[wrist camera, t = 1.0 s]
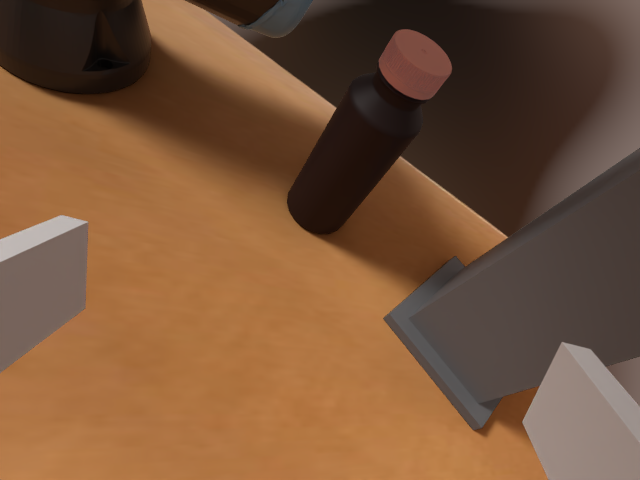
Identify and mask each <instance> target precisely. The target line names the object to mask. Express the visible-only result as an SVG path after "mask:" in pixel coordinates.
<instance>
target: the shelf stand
mask: <svg viewBox="0 0 640 480" xmlns="http://www.w3.org/2000/svg"><path fill="white" fill-rule="evenodd" d="M383 319H384V320H385V321H386V323H387V324H388V325H389V326H390V328H391V329H392V330H393V331H394V333H395V334H396V335H397V336H398V338H399V339H400V340H401V341H402V342H403V344H404V345H405V346H406V347H407V349H408V350H409V351H410V352H411V354H412V355H413V356H414V357H415V359H416V360H417V361H418V362H419V364H420V365H421V366H422V367H423V369H424V370H425V371H426V372H427V374H428V375H429V376H430V377H431V378H432V380H433V381H434V382H435V383H436V385H437V386H438V387H439V388H440V390H441V391H442V392H443V393H444V395H445V396H446V397H447V398H448V400H449V401H450V402H451V403H452V405H453V406H454V407H455V408H456V410H457V411H458V412H459V413H460V414H461V416H462V417H463V418H464V419H465V421H466V422H467V423H468V424H469V426H470V427H471V428H472V429H473V430H476V429H480V428H482V427H483V426H484V424H485V423H486V421H487V420H488V418H489V417H490V415H491V414H492V412H493V411H494V409H495V408H496V406H497V405H498V403H499V402H500V400H501V399H502V397H503V396H506V395H510V394H513V393H517V392H520V391H523V390H527V389H530V388H534V387H537V386H540V385H541V383H542V381H543V379H544V377H545V375H546V373H547V371H548V369H549V367H550V365H551V363H552V361H553V359H554V357H555V355H556V353H557V351H558V349H559V347H560V345H561V343H562V342H564V343H568V344H572V345H576V346H580V347H584V348H588V349H591V350H592V352H593V353H594V354H595V355H596V356H597V357H598V359H599V360H600V361H601V362H602V363H603V364H604V366H605V367H606V366H609V365H613V364H616V363H619V362H622V361H626V360H630V359H633V358H636V357H640V148H639V149H637V150H636V151H635V152H633V153H632V154H630V155H629V156H627V157H626V158H624V159H623V160H621V161H620V162H618V163H617V164H616V165H614V166H612V167H611V168H610V169H608V170H607V171H605V172H604V173H602V174H601V175H599V176H598V177H596V178H595V179H593V180H592V181H591V182H589V183H588V184H586V185H585V186H583V187H582V188H580V189H579V190H577V191H576V192H574V193H573V194H571V195H570V196H569V197H567V198H566V199H564V200H563V201H561V202H560V203H558V204H557V205H555V206H554V207H552V208H551V209H549V210H548V211H547V212H545V213H544V214H542V215H541V216H539V217H538V218H536V219H535V220H533V221H532V222H530V223H529V224H528V225H526V226H524V227H523V228H522V229H520V230H519V231H517V232H516V233H514V234H513V235H511V236H510V237H508V238H507V239H505V240H504V241H503V242H501V243H500V244H498V245H497V246H495V247H494V248H492V249H491V250H489V251H488V252H486V253H485V254H483V255H482V256H481V257H479V258H478V259H476V260H475V261H473V262H472V263H470V264H469V265H467V266H466V267H465V266H464V265H463V264H462V263H461V262H460V260H459V259H458V258H457V257H456V256H454V257H453V258H452V259H450V260H449V261H448V262H447V263H446V264H444V265H443V266H442V267H441V268H440V269H439V270H438V271H436V272H435V273H434V274H433V275H432V276H431V277H430V278H428V279H427V280H426V281H425V282H424V283H423V284H422V285H421V286H419V287H418V288H417V289H416V290H415V291H414V292H413V293H411V294H410V295H409V296H408V297H407V298H406V299H405V300H403V301H402V302H401V303H400V304H399V305H398V306H397V307H395V308H394V309H393V310H392V311H391V312H390V313H389V314H387V315H386V316H385V317H384V318H383Z"/></svg>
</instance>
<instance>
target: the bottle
mask: <svg viewBox="0 0 640 480" xmlns="http://www.w3.org/2000/svg"><path fill="white" fill-rule="evenodd" d="M451 69H452V67H451V62H450V60H449V58H448V56H447V55H446V54H445V52H444V51H443V50H442V49H441V47H439V46H438V45H437V44H436V43H435V42H434V41H432V40H431V39H429V38H428V37H426V36H424V35H422V34H420V33H418V32H416V31H412V30H400V31H397V32H396V33H395V34H394V35H393V37H392V39H391V40H390V42H389V44H388V45H387V47H386V49H385V51H384V52H383V54H382V55H381V57H380V59H379V62H378V64H377V66H376V73H370V74H364V75H362V76H359V77H358V78H356V79H354V80H353V81H352V83H351V84H350V86H349V88H348V89H347V91H346V93H345V95H344V96H343V98H342V100H341V102H340V103H339V105H338V107H337V109H336V110H335V112H334V114H333V116H332V117H331V119H330V121H329V123H328V124H327V126H326V128H325V130H324V131H323V133H322V135H321V136H320V138H319V140H318V142H317V143H316V145H315V147H314V149H313V150H312V152H311V154H310V156H309V157H308V159H307V161H306V163H305V164H304V166H303V168H302V170H301V171H300V173H299V175H298V177H297V178H296V180H295V182H294V184H293V185H292V187H291V189H290V191H289V192H288V199H287V204H288V208H289V211H290V213H291V215H292V216H293V218H294V219H295V220H296V221H297V222H298V223H299V224H300V225H301V226H302V227H304V228H306V229H307V230H309V231H312V232H315V233H319V234H329V233H331V232H334V231H337V230H338V229H339V228H340V227H341V226H342V225H343V224H344V223H345V222H346V221H347V219H348V218H349V217H350V216H351V215H352V213H353V212H354V211H355V210H356V209H357V207H358V206H359V205H360V204H361V203H362V201H363V200H364V199H365V198H366V196H367V195H368V194H369V193H370V192H371V190H372V189H373V188H374V187H375V186H376V184H377V183H378V182H379V181H380V180H381V178H382V177H383V176H384V175H385V173H386V172H387V171H388V170H389V169H390V167H391V166H392V165H393V164H394V163H395V161H396V160H397V159H398V158H399V157H400V155H401V154H402V153H403V151H404V150H405V149H406V148H407V147H408V146H409V144H410V143H411V142H412V141H413V140H414V138H415V137H416V136H417V135H418V134H419V132H420V130H421V127H422V123H423V117H422V110H421V104H424V103H426V102H427V101H429V99H430V98H431V97H433V96H434V94H435V93H436V92H437V91H438V89H439V88H440V87H441V85H442V84H443V83H444V82H445V80H446V79H447V78H448V77H449V75H450V73H451V71H452V70H451Z"/></svg>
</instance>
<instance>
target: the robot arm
mask: <svg viewBox="0 0 640 480" xmlns="http://www.w3.org/2000/svg"><path fill="white" fill-rule="evenodd" d="M185 1H187V2H189V3H192V4H194V5H196V6H198V7H200V8H202V9H204V10H206V11H209V12H211V13H213V14H215V15H217V16H219V17H221V18H224V19H226V20H228V21H230V22H232V23H234V24H236V25H238V26H239V27H240V28H243V29H252V30H254V31H257V32H259V33H262V34H264V35H267V36H270V37H275V38H277V37H282V36H285V35H287V34H288V33H289V32H291V31H292V30H293V29H294V28H295V27H296V26H297V24H298V23H299V22H300V20H301V19H302V17H303V16H304V14H305V13H306V11H307V9H308V8H309V6H310V4H311V3H312V1H313V0H185ZM150 51H151V34H150V30H149V26H148V23H147V19H146V15H145V12H144V8H143V4H142V1H141V0H0V65H1V66H2V67H3V68H5V69H6V70H8V71H9V72H11V73H13V74H14V75H16V76H18V77H20V78H22V79H24V80H26V81H28V82H31V83H33V84H36V85H39V86H42V87H45V88H49V89H53V90H57V91H63V92H69V93H81V94H94V93H104V92H110V91H114V90H118V89H121V88H124V87H126V86H128V85H130V84H132V83H134V82H135V81H137V80H138V79H139V78H140V77H141V76H142V75H143V74H144V73H145V71H146V69H147V68H148V65H149V61H150ZM87 244H88V222H87V221H83V220H79V219H75V218H71V217H67V216H63V215H60V216H58V217H55V218H53V219H50V220H48V221H45V222H43V223H40V224H38V225H35V226H33V227H30V228H28V229H25V230H23V231H20V232H18V233H15V234H13V235H10V236H8V237H5V238H2V239H0V373H1V372H2V371H3V370H5V369H6V368H7V367H9V366H10V365H11V364H13V363H14V362H15V361H16V360H18V359H19V358H20V357H22V356H23V355H24V354H26V353H27V352H28V351H30V350H31V349H32V348H34V347H35V346H36V345H38V344H39V343H40V342H42V341H43V340H44V339H46V338H47V337H48V336H49V335H51V334H52V333H53V332H55V331H56V330H57V329H59V328H60V327H61V326H63V325H64V324H65V323H67V322H68V321H69V320H71V319H72V318H73V317H75V316H76V315H77V314H79V313H80V312H81V311H82V310H84V309H85V301H86V273H87ZM522 423H523V425H524V427H525V429H526V432H527V434H528V436H529V438H530V440H531V443H532V445H533V447H534V449H535V451H536V453H537V456H538V458H539V460H540V462H541V464H542V466H543V469H544V471H545V473H546V475H547V477H548V479H549V480H640V406H639V405H638V404H637V403H636V402H635V400H634V399H633V398H632V397H631V396H630V395H629V393H628V392H627V391H626V390H625V389H624V388H623V386H622V385H621V384H620V383H619V382H618V381H617V379H616V378H615V377H614V376H613V375H612V374H611V373H610V371H609V370H608V369H607V368H606V367H605V366H604V364H603V363H602V362H601V361H600V360H599V359H598V357H597V356H596V355H595V354H594V353H593V352H592V350H591V349H588V348H584V347H580V346H576V345H572V344H568V343H564V342H562V343H561V345H560V347H559V349H558V351H557V353H556V355H555V357H554V359H553V361H552V363H551V365H550V367H549V369H548V371H547V373H546V375H545V377H544V379H543V381H542V383H541V385H540V387H539V389H538V391H537V393H536V395H535V397H534V399H533V401H532V403H531V405H530V407H529V409H528V411H527V413H526V415H525V417H524V419H523V421H522Z"/></svg>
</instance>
